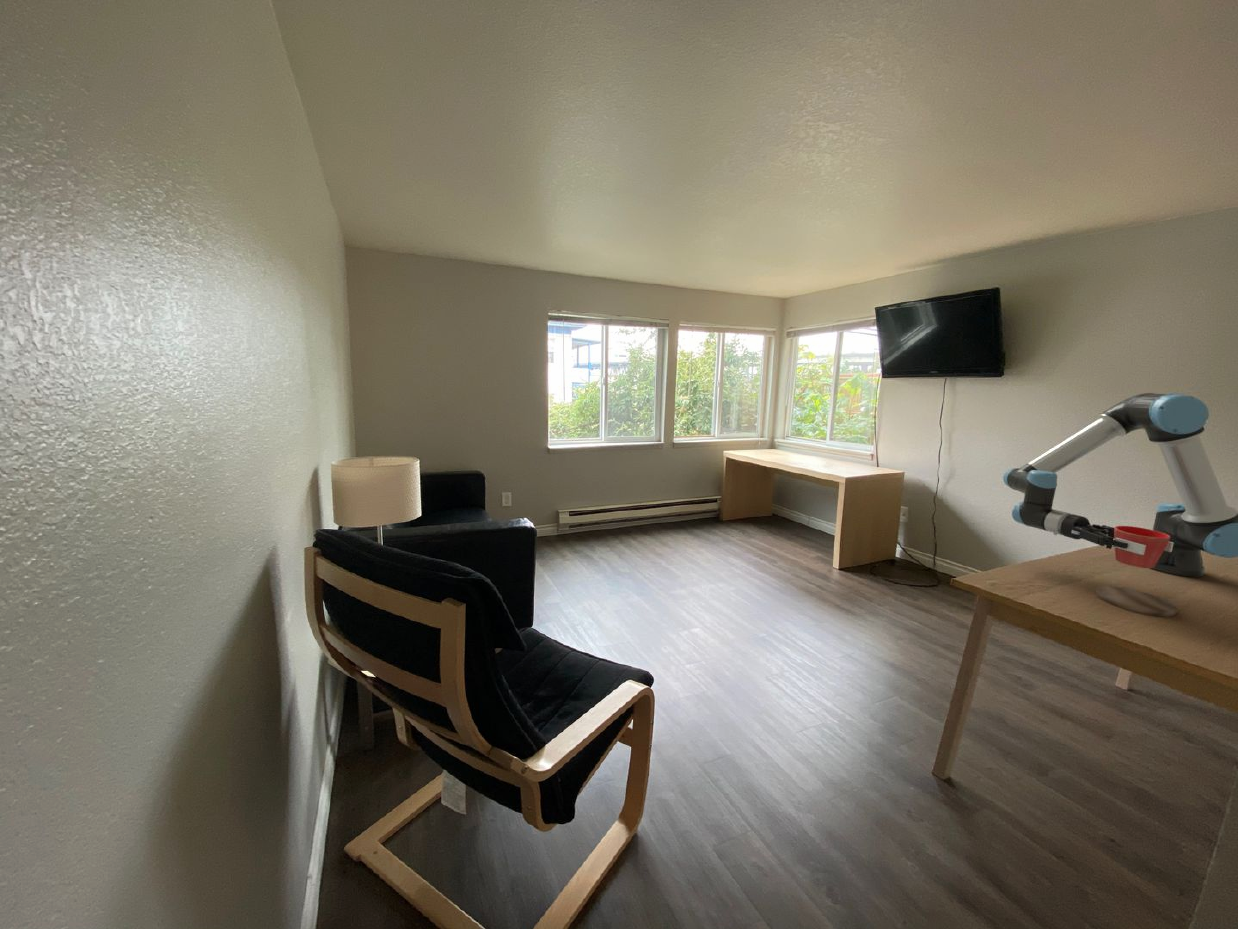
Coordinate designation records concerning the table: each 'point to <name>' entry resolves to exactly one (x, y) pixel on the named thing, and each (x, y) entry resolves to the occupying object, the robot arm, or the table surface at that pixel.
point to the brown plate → (1136, 601)
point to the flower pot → (1142, 536)
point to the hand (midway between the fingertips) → (1158, 548)
